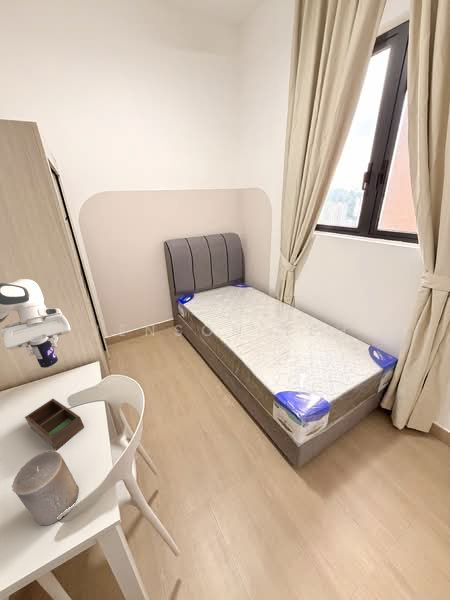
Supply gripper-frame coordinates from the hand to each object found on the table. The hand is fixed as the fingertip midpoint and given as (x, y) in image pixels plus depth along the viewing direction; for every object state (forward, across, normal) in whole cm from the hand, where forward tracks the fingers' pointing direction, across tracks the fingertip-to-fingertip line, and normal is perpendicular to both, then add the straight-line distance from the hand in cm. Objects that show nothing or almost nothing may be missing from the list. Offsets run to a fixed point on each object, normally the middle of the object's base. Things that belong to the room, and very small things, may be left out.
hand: (43, 351), depth 88 cm
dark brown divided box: (+27, -2, +3) cm, 27 cm away
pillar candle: (+46, -3, -16) cm, 49 cm away
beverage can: (+4, 0, +5) cm, 7 cm away
